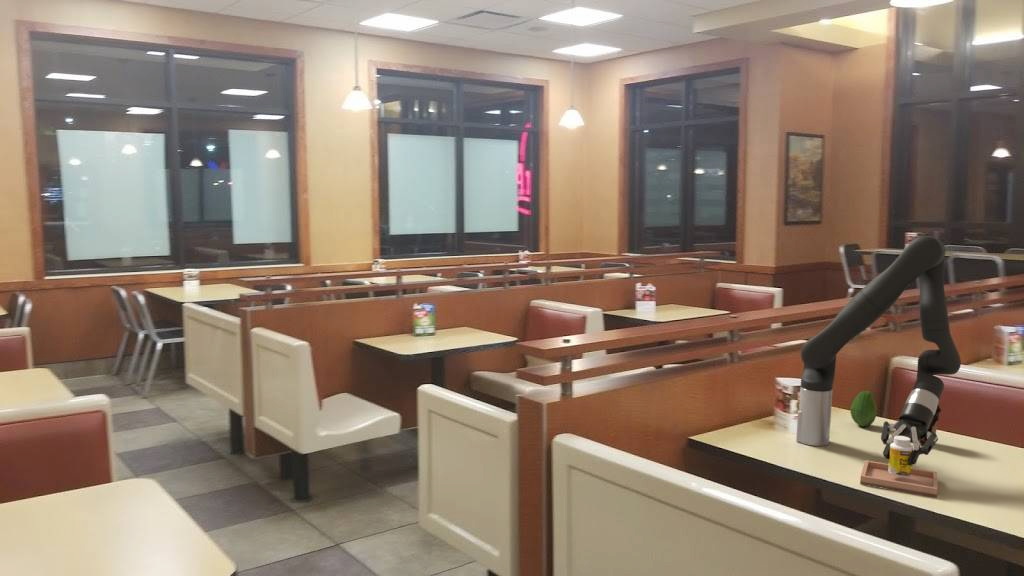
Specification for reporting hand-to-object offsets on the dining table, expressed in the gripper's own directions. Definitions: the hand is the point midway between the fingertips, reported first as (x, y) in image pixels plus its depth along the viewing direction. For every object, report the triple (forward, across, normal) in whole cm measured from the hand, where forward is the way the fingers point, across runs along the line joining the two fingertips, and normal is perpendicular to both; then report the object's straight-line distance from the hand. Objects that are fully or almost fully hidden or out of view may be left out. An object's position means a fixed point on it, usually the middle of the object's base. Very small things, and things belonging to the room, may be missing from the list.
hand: (897, 460), depth 205 cm
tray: (+3, 0, +6) cm, 7 cm away
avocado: (-26, -29, +36) cm, 53 cm away
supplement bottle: (+2, 0, +4) cm, 5 cm away
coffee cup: (-24, -9, +34) cm, 42 cm away
